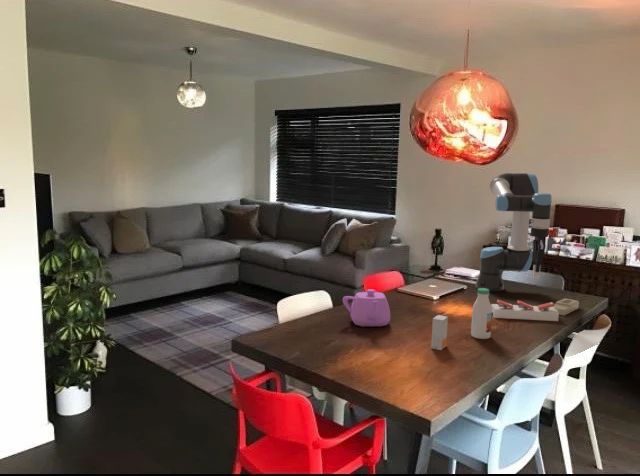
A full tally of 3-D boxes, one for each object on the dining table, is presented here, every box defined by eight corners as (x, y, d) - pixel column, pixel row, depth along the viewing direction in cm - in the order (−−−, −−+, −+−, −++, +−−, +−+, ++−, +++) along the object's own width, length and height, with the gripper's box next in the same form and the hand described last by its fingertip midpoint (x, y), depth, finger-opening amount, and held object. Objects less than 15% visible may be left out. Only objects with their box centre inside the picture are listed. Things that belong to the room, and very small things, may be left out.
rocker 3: (537, 307, 244) (537, 305, 244) (552, 304, 243) (552, 301, 243) (539, 309, 241) (538, 307, 241) (554, 306, 239) (554, 303, 239)
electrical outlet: (549, 304, 252) (564, 297, 265) (548, 312, 253) (563, 305, 265) (564, 307, 247) (579, 300, 260) (563, 316, 248) (578, 308, 260)
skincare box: (441, 350, 201) (443, 320, 199) (430, 348, 203) (432, 318, 201) (446, 346, 206) (448, 316, 204) (436, 343, 208) (437, 314, 206)
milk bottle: (480, 340, 212) (483, 292, 209) (466, 334, 219) (469, 288, 216) (494, 337, 216) (497, 290, 213) (480, 332, 223) (483, 286, 220)
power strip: (475, 311, 253) (476, 300, 252) (552, 315, 248) (553, 304, 247) (478, 316, 244) (479, 306, 243) (558, 321, 239) (559, 310, 238)
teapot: (340, 317, 241) (341, 285, 239) (386, 317, 242) (387, 285, 240) (344, 334, 219) (345, 298, 216) (395, 334, 219) (396, 298, 217)
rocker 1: (496, 301, 246) (497, 299, 246) (510, 306, 246) (511, 304, 246) (498, 303, 243) (499, 301, 243) (512, 308, 242) (513, 306, 242)
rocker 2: (517, 301, 245) (518, 299, 245) (530, 307, 244) (532, 305, 244) (518, 303, 242) (519, 301, 242) (532, 309, 241) (533, 307, 241)
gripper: (528, 225, 245) (524, 274, 249) (534, 229, 233) (530, 281, 237) (545, 225, 244) (541, 275, 248) (552, 230, 231) (548, 282, 235)
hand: (536, 278), depth 242 cm, fingers closed
